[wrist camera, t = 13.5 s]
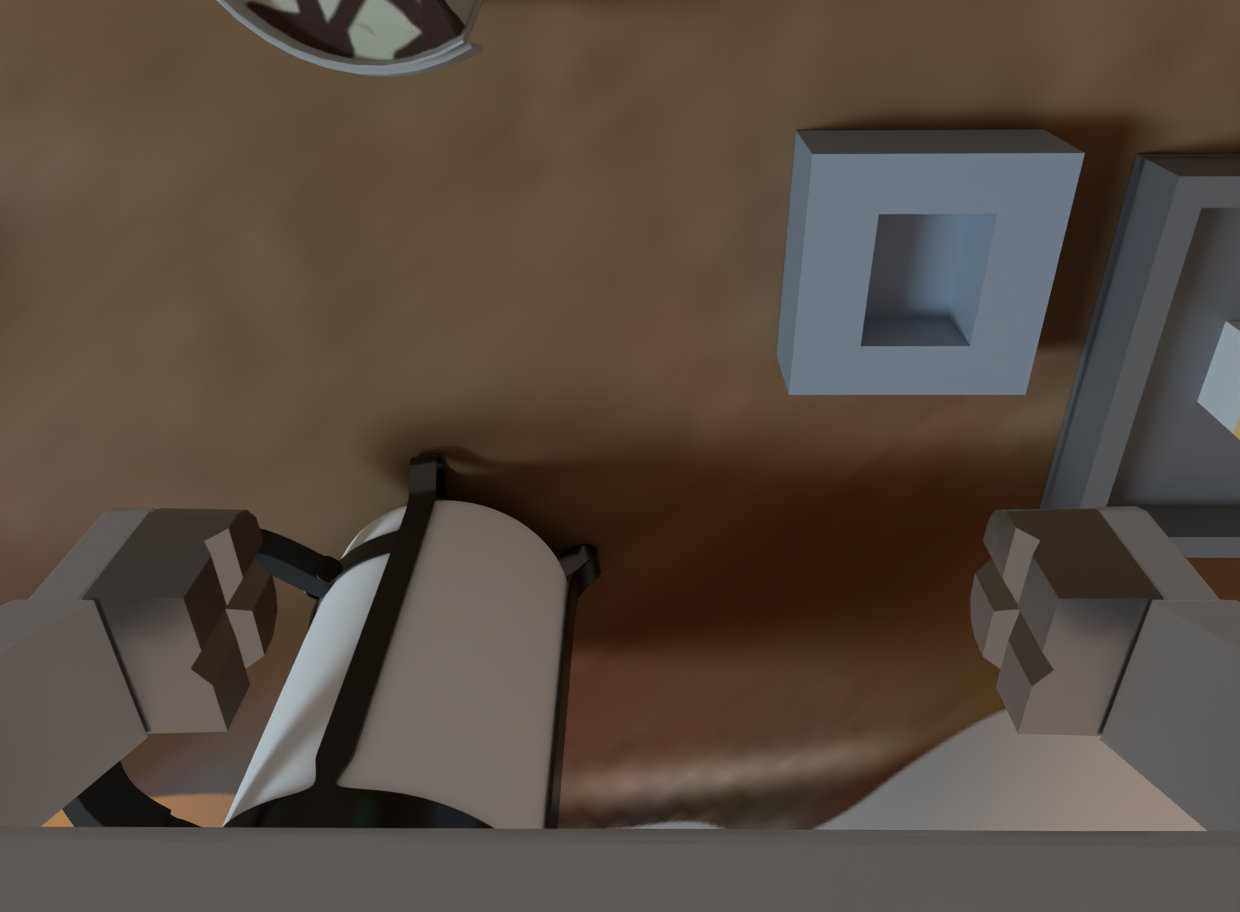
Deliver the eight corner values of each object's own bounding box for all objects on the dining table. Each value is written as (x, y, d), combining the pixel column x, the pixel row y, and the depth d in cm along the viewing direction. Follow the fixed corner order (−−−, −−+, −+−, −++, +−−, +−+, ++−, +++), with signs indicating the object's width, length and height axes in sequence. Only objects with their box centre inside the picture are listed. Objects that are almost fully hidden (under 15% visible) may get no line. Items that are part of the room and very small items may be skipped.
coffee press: (587, 420, 45) (525, 1124, 19) (611, 665, 53) (591, 1386, 28) (235, 440, 46) (-273, 1140, 20) (313, 677, 54) (23, 1389, 28)
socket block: (796, 130, 38) (812, 154, 34) (1043, 129, 38) (1084, 153, 34) (776, 354, 43) (789, 394, 40) (994, 354, 43) (1025, 394, 39)
